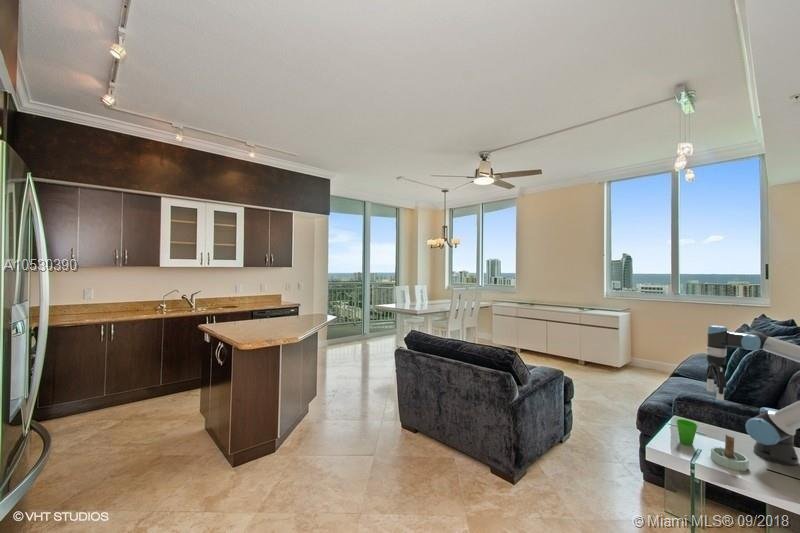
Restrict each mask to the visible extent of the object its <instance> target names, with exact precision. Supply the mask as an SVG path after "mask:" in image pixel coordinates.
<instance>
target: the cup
mask: <svg viewBox="0 0 800 533" xmlns="http://www.w3.org/2000/svg"><path fill="white" fill-rule="evenodd" d="M675 421H676V425H677V432H678V438H679V442H680V443H681V444H682V445H685V446H693V444H694V440H695V437H696V433H697V430H698V427H699V424H698V423H697V422H694V421H692V420H688V419H686V418H685V419H684V418H677V419H676V420H675Z"/></svg>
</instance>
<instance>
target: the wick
mask: <svg viewBox="0 0 800 533" xmlns="http://www.w3.org/2000/svg"><path fill="white" fill-rule="evenodd" d="M724 444H725V445H724V448H725V456H726V457H730V458H733V457H734V451H735V437H734V436H733V434H727V433H726V434H725V443H724Z"/></svg>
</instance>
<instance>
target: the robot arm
mask: <svg viewBox="0 0 800 533" xmlns="http://www.w3.org/2000/svg"><path fill="white" fill-rule="evenodd" d="M706 334H707V345H706V346H707V347H705V350H707V351H706V353H707V354H706V362H707V368H706V371H705V377H706V391H707V392H711V393H714V392H715V391H714V389H715V387H716V396H715V397H716V398H715V400H717V401H724V399H725V388H727V381H726V380H727V379H726V374H725V367H722V365H726V364H727V357H726V356H727V351H728V350H727V349H728V347H731V348H738V349H743V350H746V351H750V350H751V351H758V350H762V351H765V352H767V353H771V354H774V355H776V356H778V357H779V356H780V357H783V358H786V359H788V360H791V361H794V362H797V363H800V345H798V344H795V343H791V342H788V341H785V340H781V339H778V338H775V337H771V336H769V335H766V334H764V333H762V332H760V331H757V330H754V331H753V330H750V331H747V332H737V331H736V332H734V331H729V330H728V327H727V326H722V325H709V326H708V328H707V333H706ZM715 381H716V386H715ZM714 386H715V387H714ZM798 429H800V400H798V401H795V402H794V403H791V404H790V405H787V406H784V407H783V408H781V409H775V408H770V407H760V409H759V414H758V415H756V416H754V417H751V418H749V419H748V420H747V421H746V423H745V431H746V433H747V434H748V435H749V436H750V438H751V439H753V440H754V441H756V442H755V443H754V444H753V452H754V454H756V455H757V456H759V457H761V458H763V459H765V460H768V461H771V462H773V463H777V464H782V465H785V466H797V465H796V464H798V465H799V457H798V454H797V452H796V449H795V446H794V443H795V442H794V441H795V435H796V433H797V432H796V431H797V430H798Z"/></svg>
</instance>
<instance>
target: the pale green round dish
mask: <svg viewBox="0 0 800 533" xmlns="http://www.w3.org/2000/svg"><path fill="white" fill-rule="evenodd" d="M710 458H711V460H712V461H713V462H715V463H716V464H718V465H719V466H722V467H725V468H727V469H731V470H735V471H747V470H749V464H750V463H749V462H750V461H749V458H748V457H747V456H746V455H744V454H742V453H741V452H738V451H736V450H734V457H733V458H730V457H726V456H725V447H718V446H714V447H711V448H710Z"/></svg>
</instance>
